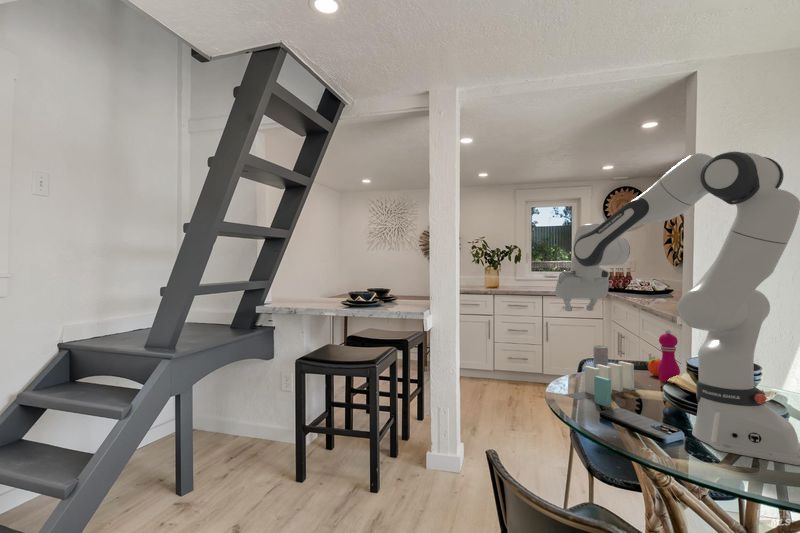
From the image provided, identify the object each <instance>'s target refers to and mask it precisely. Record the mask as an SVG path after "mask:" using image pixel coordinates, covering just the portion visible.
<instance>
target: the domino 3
mask: <svg viewBox="0 0 800 533" xmlns="http://www.w3.org/2000/svg"><path fill="white" fill-rule="evenodd" d="M594 396H595V397H594V404H597V405H600V406H602V407H606V408H611V407H612V394H611V379H607V378H604V377H600V376H594Z"/></svg>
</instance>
